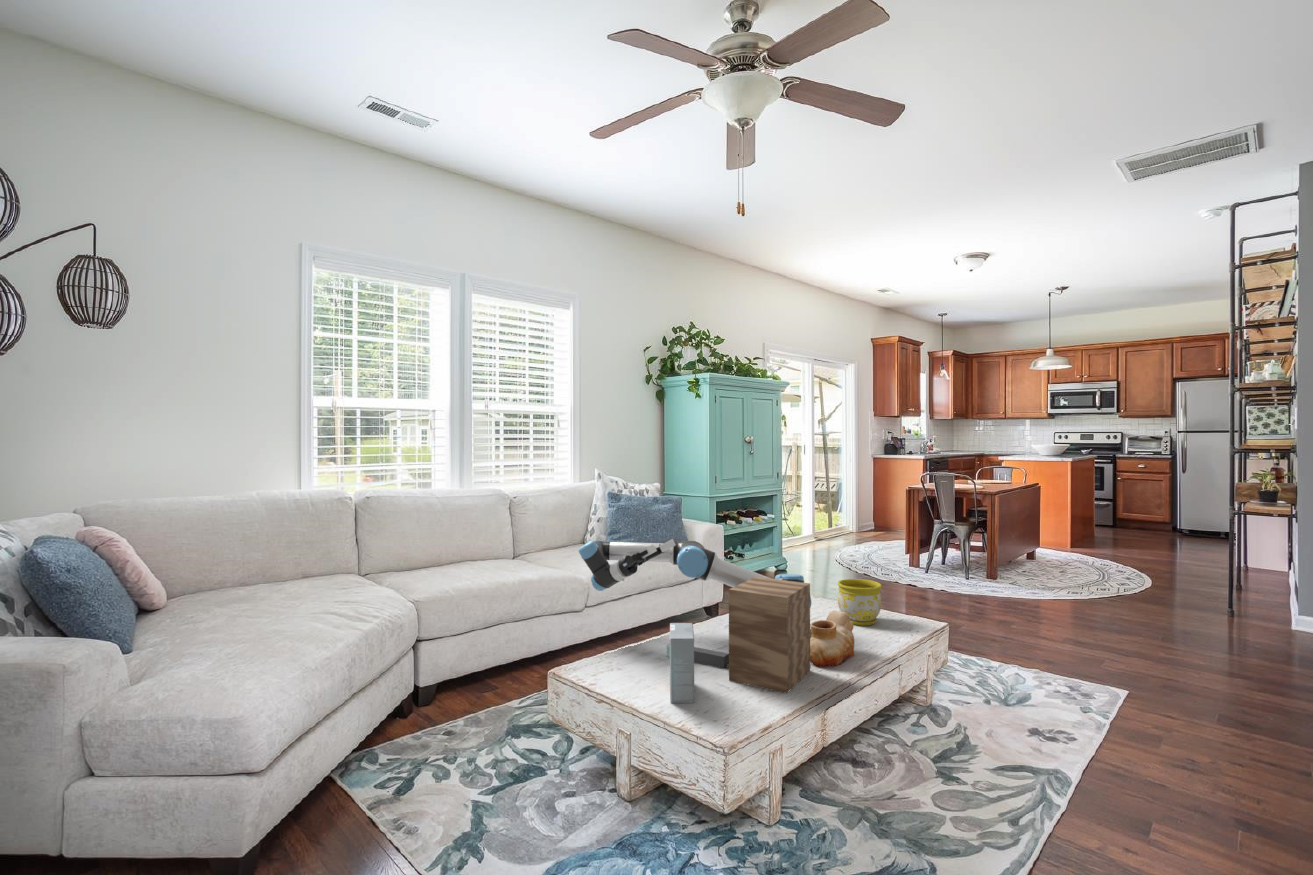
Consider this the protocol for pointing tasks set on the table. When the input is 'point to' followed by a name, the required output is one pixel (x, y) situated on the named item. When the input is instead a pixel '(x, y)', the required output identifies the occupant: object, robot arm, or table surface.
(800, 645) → the upright wooden block
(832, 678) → the table surface
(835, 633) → the ceramic vessel
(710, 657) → the bar
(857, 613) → the flowerpot
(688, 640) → the hard drive box
